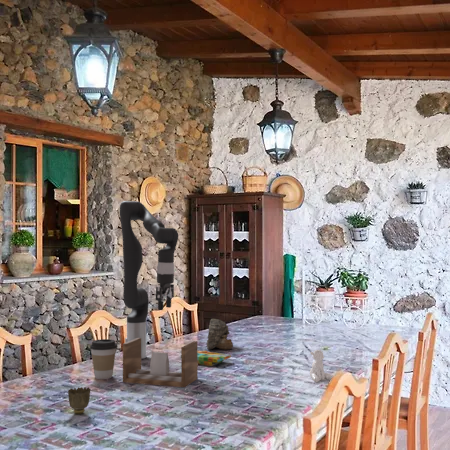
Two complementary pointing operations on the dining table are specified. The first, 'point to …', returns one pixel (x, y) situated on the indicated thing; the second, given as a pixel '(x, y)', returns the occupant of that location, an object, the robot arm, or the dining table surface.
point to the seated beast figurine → (318, 367)
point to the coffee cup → (103, 357)
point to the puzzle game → (211, 358)
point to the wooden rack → (136, 375)
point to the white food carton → (159, 364)
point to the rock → (218, 335)
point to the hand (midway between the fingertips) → (164, 308)
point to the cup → (79, 399)
